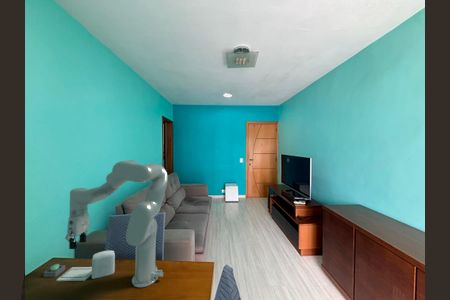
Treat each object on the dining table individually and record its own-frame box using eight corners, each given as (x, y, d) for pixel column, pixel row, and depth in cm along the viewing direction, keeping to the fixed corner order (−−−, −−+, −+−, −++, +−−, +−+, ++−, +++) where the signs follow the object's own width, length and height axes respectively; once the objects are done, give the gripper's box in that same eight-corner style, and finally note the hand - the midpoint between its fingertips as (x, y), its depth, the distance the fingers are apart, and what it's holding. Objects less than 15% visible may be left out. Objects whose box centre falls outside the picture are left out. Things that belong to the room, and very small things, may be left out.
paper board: (97, 267, 103) (97, 266, 103) (84, 280, 93) (84, 279, 93) (72, 268, 102) (72, 267, 102) (56, 281, 92) (56, 279, 92)
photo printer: (115, 269, 101) (115, 247, 101) (114, 274, 97) (114, 251, 98) (92, 275, 97) (92, 251, 97) (90, 280, 93) (91, 256, 93)
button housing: (65, 269, 101) (65, 265, 101) (55, 277, 95) (55, 272, 95) (54, 269, 101) (54, 265, 101) (43, 277, 95) (43, 272, 95)
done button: (61, 268, 100) (61, 263, 100) (55, 272, 96) (55, 268, 96) (54, 268, 100) (54, 263, 100) (48, 272, 96) (48, 268, 96)
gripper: (73, 217, 89) (72, 254, 89) (96, 206, 106) (96, 237, 106) (57, 217, 89) (56, 254, 89) (83, 206, 106) (82, 237, 106)
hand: (78, 245), depth 98 cm, fingers open, 6 cm apart
